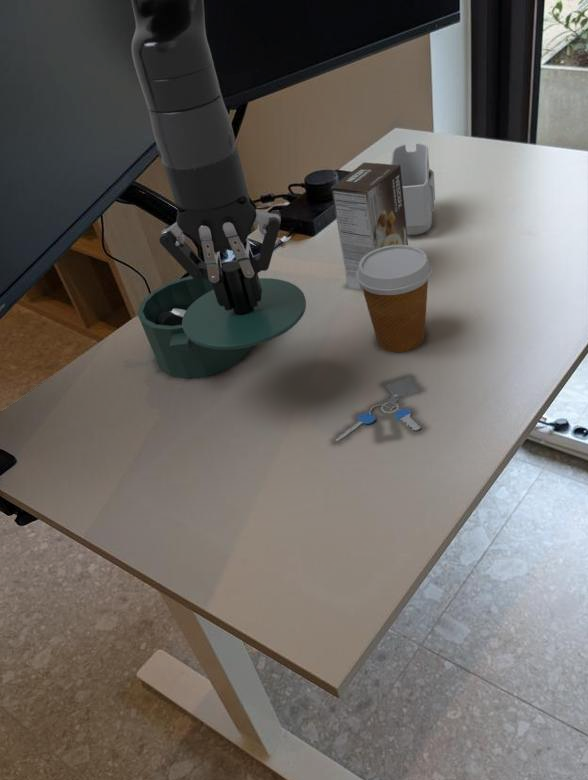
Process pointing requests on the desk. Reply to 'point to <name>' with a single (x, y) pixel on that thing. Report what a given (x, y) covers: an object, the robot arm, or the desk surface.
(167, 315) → the watch
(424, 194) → the cable organizer
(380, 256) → the disposable coffee cup
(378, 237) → the coffee box
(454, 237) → the desk surface
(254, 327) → the lid
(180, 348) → the pot
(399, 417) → the key chain
